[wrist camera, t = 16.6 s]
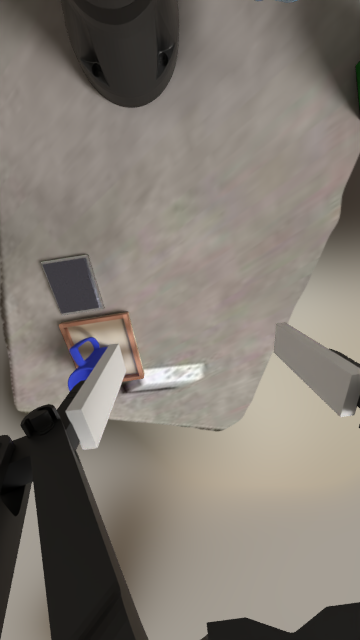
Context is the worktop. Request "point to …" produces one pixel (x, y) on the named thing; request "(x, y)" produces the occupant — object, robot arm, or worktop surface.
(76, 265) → the ink pad
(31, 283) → the worktop surface
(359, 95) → the milk carton
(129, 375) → the sand box
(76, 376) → the mug
